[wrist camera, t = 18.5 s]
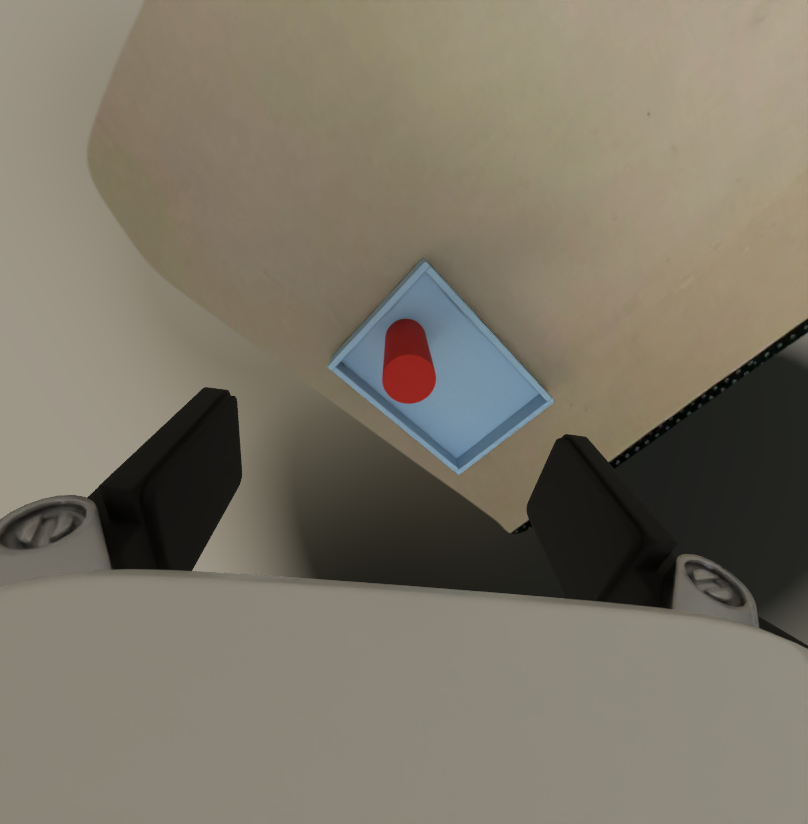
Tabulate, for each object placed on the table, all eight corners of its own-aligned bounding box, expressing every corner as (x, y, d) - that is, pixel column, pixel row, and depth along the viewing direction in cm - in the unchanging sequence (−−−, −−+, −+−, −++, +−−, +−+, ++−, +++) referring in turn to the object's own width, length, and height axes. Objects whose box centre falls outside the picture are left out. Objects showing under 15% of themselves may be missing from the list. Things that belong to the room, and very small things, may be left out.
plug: (382, 355, 36) (379, 400, 27) (388, 315, 34) (385, 350, 25) (421, 360, 36) (430, 407, 27) (429, 321, 34) (441, 358, 25)
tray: (331, 356, 37) (326, 367, 34) (423, 257, 32) (425, 260, 30) (455, 460, 43) (458, 475, 41) (545, 389, 39) (555, 401, 36)
